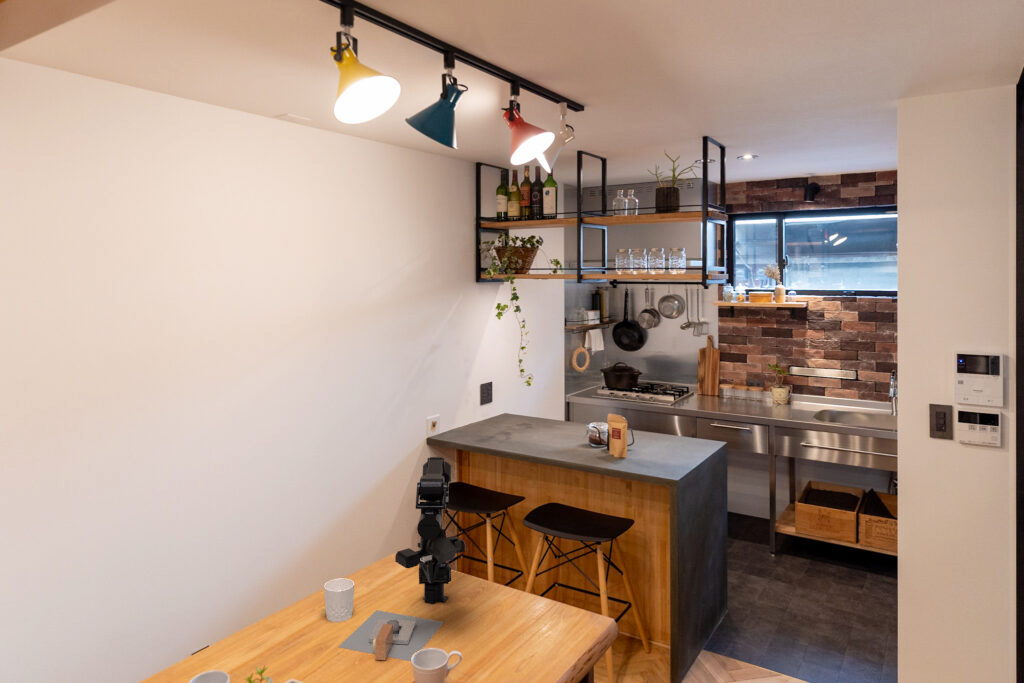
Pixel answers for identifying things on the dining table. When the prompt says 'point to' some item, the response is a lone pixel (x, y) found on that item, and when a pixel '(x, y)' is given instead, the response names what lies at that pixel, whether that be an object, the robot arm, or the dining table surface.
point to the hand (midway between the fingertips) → (430, 582)
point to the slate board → (396, 648)
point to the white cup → (339, 599)
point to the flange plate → (390, 636)
